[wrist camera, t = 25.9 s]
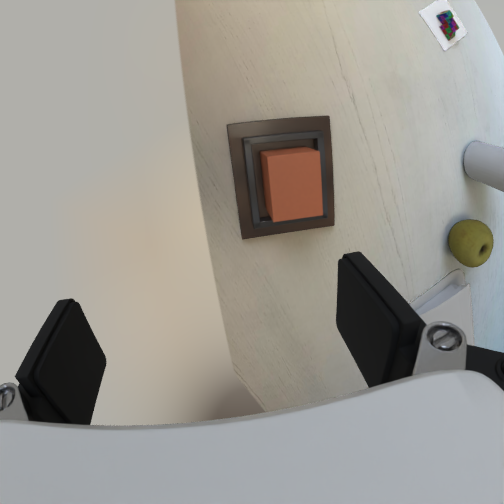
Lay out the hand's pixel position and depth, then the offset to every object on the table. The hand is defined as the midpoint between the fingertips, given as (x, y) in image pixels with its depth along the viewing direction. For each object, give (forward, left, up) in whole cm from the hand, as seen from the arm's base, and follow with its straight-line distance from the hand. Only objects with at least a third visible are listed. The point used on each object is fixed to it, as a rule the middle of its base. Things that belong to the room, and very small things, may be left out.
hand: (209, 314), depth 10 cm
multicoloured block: (+19, +38, -28) cm, 50 cm away
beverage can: (+35, +22, -28) cm, 50 cm away
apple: (+40, +10, -28) cm, 50 cm away
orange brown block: (+8, +3, -27) cm, 28 cm away
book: (+52, -6, -28) cm, 59 cm away
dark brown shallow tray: (+8, +3, -28) cm, 29 cm away
